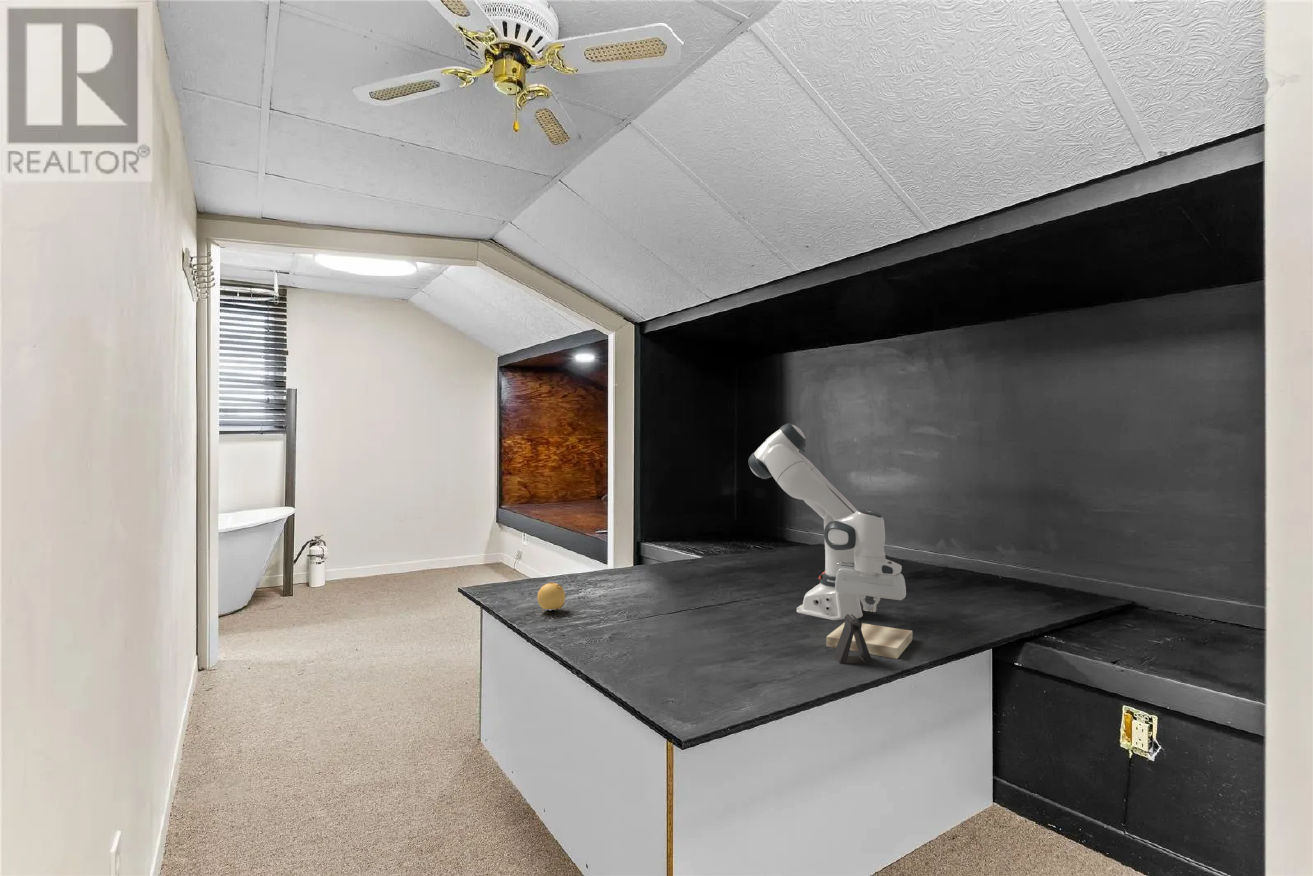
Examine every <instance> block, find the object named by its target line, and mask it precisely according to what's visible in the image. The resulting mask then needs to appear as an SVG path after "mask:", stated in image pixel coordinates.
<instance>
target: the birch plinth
mask: <svg viewBox="0 0 1313 876" xmlns="http://www.w3.org/2000/svg"><path fill="white" fill-rule="evenodd" d="M861 624H862V627H861V631H862V634H863V637H864V640H865V642H866V645H867V648H868V651H869V653H870V655H874V656H879V657H880V656H881V657H884V658H885V657H886V658H891V659H896V660H897V659H898V658H899V657H900V656H901V655H902V654H903V652H905V650H906V648H907V647H909V645H910V644H911V643H912V641H913V630H909V629H903V628H897V627H896V628H895V627H889V626H882V625H874V624H869V623H863V622H861ZM844 625H845V621H844V622H843V623H842V624H840V625H839V626H838V627H837V628H835V629H834V630H833V631H832V632H830V633H828V635H827V636H826V642H825V645H826V648H827V647H828V648H832V649H834V648H835V649H836V647H837V645H838V642H839V639H840V636H841V633H842V631H843V628H844ZM850 651H851V652H856V653H859V652H858V649H857V645H856V641H855V637H854V635H853V639H852V642H851V646H850V650H849V652H850Z"/></svg>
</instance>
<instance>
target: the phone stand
mask: <svg viewBox="0 0 1313 876" xmlns="http://www.w3.org/2000/svg"><path fill="white" fill-rule="evenodd" d="M851 615H852V614H851ZM852 616H853V617H854V619H853V618H852V617H851V616H850V615H849V614H847V615H846V616H845V618H844V619H843V621H844V622H845V625H844V628H843V631H842V633H841V636H840V639H839V642H838V645H837V647H836V648H835V650H834V653H833V657H834V658H835V659H836V661H837V662H838V663H839V664H846V665H847V664H849V665H850V664H854V665H855V664H871V665H872V664H873V663H874V662H873V659H872V656H871V654H870V653H869V651H868V648H867V645H866V642H865V640H864V637H863V634H862V631H861V627H862V624H861V623H862V622H861V621H860V620H859V618H856V617H855V616H854V615H852ZM853 635H854V637H855V641H856V645H857V649H858V652H857V653H858V655H849V652H850V646H851V642H852V639H853Z"/></svg>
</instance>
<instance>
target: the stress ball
mask: <svg viewBox="0 0 1313 876" xmlns="http://www.w3.org/2000/svg"><path fill="white" fill-rule="evenodd" d="M565 601H566V592H565V590H564V587H563V586H562V585H560V584H558V583H556V582H553V581H551V582H548V583H546V584H543V585H542V586H541V588H539V590H538V592H537V603H538V605H539V606H540V608H541V609H543V610H544V609H558V610H559V609H562V608H563V607H564V605H565Z"/></svg>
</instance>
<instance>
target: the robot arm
mask: <svg viewBox="0 0 1313 876" xmlns="http://www.w3.org/2000/svg"><path fill="white" fill-rule="evenodd" d="M806 446H807V439H806V436H805V433H804V432H803V430H801V428H800V427H798V426H797V425H794V424H792V423H786V424H783V425H782V426H780V427H779V429H778V430H776V431H775V432H774V433H772V434H771V435H770V436H768V437H767V438H766V439H765V441H763V443H761V445H760V446H758V448H757V449H756V450H755V451H754V452H752V453H751V455H750V456H749V458H748V459H747V460H748V463H747V464H748V466H749V468H750V470H751V472H752V473H753V474H754V475H755V476H756V477H758V478H761V479H762V480H763V479H764V480H769V478H772V477H773V479H774V480H775V482H776V483H777V485H778V486H779V487H780V488H781V489H782V490H783V492H785V493H786V494H787V495H788V496H790V497H792V498H794V499H797V500H800V501H801V500H802V501H803V502H804V503H805V504H806V505H807V506H809V507H810V508H811V509H812V510H813V511H814V512H815V513H817V514H818V516H819V517H820V518H821V519H823V539H824V550H825V551H824V554H825V555H824V556H825V559H824V561H825V562H824V563H825V565H824V567H825V568H824V571H823V572H822V573H821V574H820V575H819V576H818V580H819V584H817V585H815V586H813V588H811V589H810V590H808V591H807V592H806V593H805V595H804V597H803V601H802V604H800V605H799V606H797V607H796V612H797V613H798V614H801V615H802V614H803V615H808V616H811V617H812V616H813V617H817V618H821V619H827V620H831V621H841V620H844V618H845V616H846V615H847V614H849V615H850V616H851V617H852V618H853V619H854V617H853V616H852V615H854V616H855V617H856V618H857V619H860V618H862V617H863V615H864V614H863V611H865V612H871V613H872V612H873V613H876V612H877V605H878V604H879V602H880V601H881V599H888V600H895V601H896V600H897V601H903V600H904V599H905V598H906V596H907V587H906V579H905V577H904V575H903V574H902V569H903V568H902V567H903V566H902V565H901V564H899V563H897V562H896V561H893V560H890V559H887V558H886V552H885V543H886V530H885V520H884V517H883V516H882V514H881V513H880V512H878V511H875V510H871V509H864V508H863V509H862V508H861V509H858V510H857V508H855V506H854V505H853V504H852V503H851V502H850V501H849V500H848V499H847V497H845V496H844V495H843V494H842V493H841V492H840V491H839V490H838V489H837V488H836V487H835V486H834V485H833V484H832V483H831V482H830V481H829V480H828V479H827V478H826V477H825V476H824V475H823V474H822V473H821V472H820V470H819V469H818V468H817V467H816V466H815V465H814V464H813V463H812V461H810V460H809V459H808V458H806V456H804V455H803V454H802V453H805V452H806V450H805V448H806ZM800 451H801V452H802V453H800ZM867 597H872V598H873V601H874V603H873V604H870V603H867V600H866V598H867ZM861 604H862V607H861ZM862 610H863V611H862ZM851 614H852V615H851Z"/></svg>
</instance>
